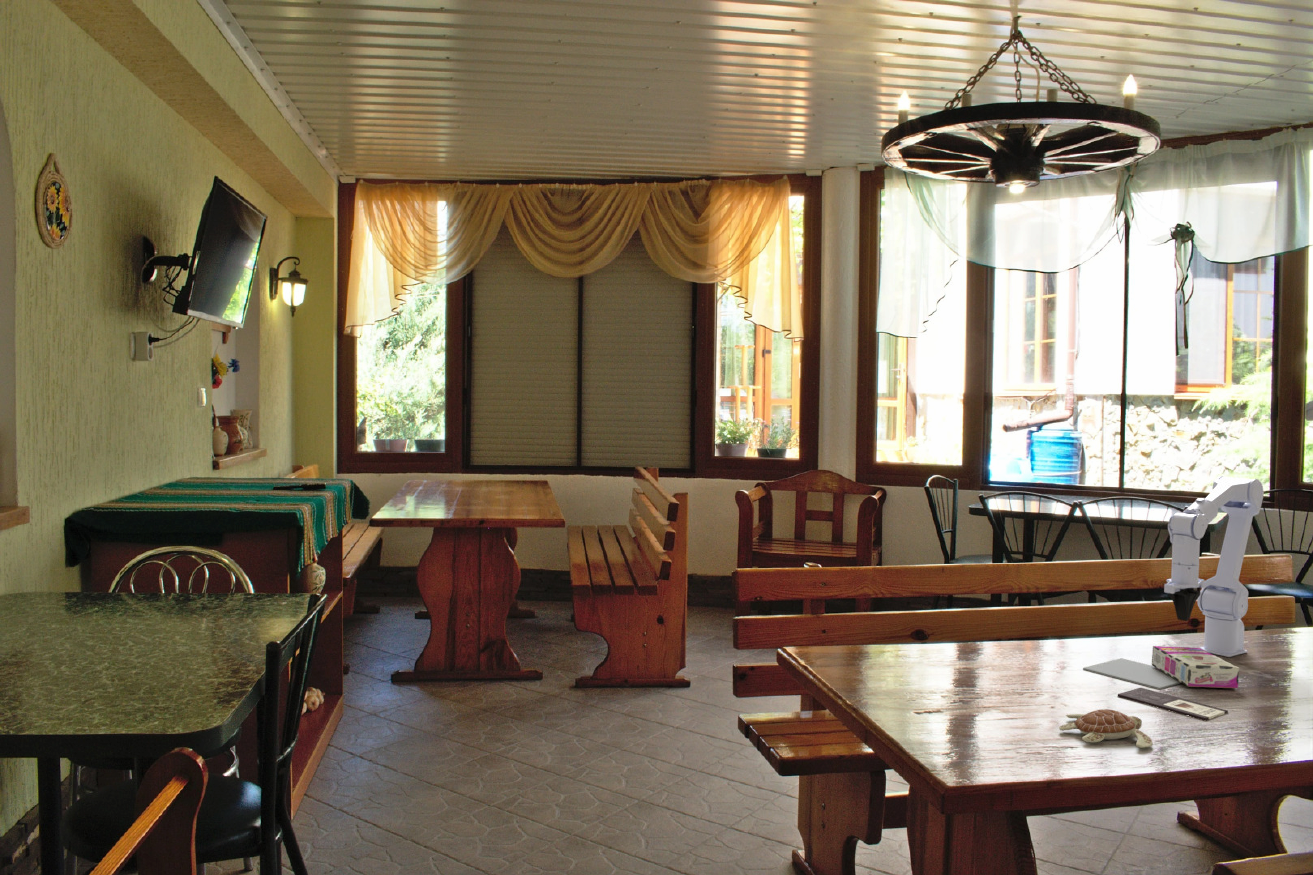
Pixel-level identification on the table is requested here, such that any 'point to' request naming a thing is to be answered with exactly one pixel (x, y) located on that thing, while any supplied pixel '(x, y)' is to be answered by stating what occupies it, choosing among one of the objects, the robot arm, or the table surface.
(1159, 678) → the rubber mat
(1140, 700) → the chocolate bar
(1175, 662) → the candy bar box
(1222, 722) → the table surface
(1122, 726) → the decorative turtle
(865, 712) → the table surface
